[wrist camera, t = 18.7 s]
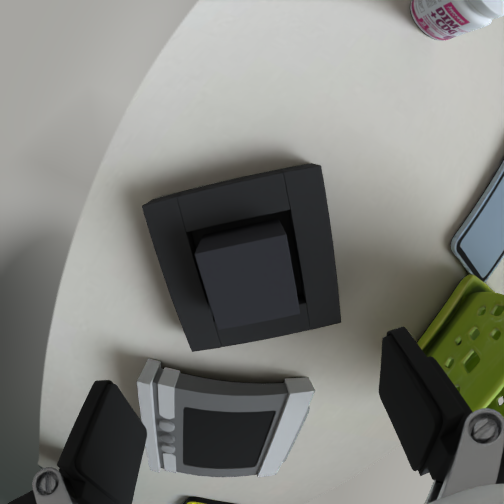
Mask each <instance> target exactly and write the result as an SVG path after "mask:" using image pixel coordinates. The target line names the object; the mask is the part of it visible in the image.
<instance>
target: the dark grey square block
mask: <svg viewBox="0 0 504 504" xmlns="http://www.w3.org/2000/svg"><path fill="white" fill-rule="evenodd" d="M195 258H196V261H197V265H198V268H199V271H200V275H201V278H202V281H203V285H204V288H205V291H206V294H207V297H208V301H209V304H210V307H211V310H212V313H213V316H214V319H215V322H216V326H217V329H218V330H221V329H226V328H232V327H237V326H243V325H248V324H253V323H258V322H263V321H268V320H273V319H278V318H283V317H288V316H292V315H297V314H300V309H299V303H298V297H297V291H296V285H295V280H294V274H293V268H292V263H291V257H290V252H289V246H288V241H287V235H286V233H285V231H284V229H283V227H282V225H281V222H280V220H279V219H273V220H268V221H263V222H259V223H254V224H249V225H245V226H240V227H236V228H231V229H226V230H222V231H217V232H213V233H209V234H204V235H203V236H202V238H201V240H200V242H199V245H198V247H197V249H196V252H195Z"/></svg>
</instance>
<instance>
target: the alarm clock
mask: <svg viewBox="0 0 504 504" xmlns="http://www.w3.org/2000/svg"><path fill="white" fill-rule="evenodd" d="M137 388H138V396H139V405H140V412H141V420H142V423H143V425H144V426H145V427H146V430H147V439H146V443H145V445H146V451H147V456H148V462H149V467H150V470H152V471H155V472H160V469H161V468H164V469H165V471H169V472H174V473H176V472H181V473H186V474H192V475H198V476H210V477H237V476H248V475H257V477H263V476H270V475H276V474H277V472H278V470H279V468H280V466H281V464H282V462H285V460H286V459H287V457H288V455H289V453H290V451H291V449H292V447H293V445H294V442H295V440H296V438H297V436H298V434H299V432H300V430H301V428H302V426H303V423H304V421H305V419H306V417H307V415H308V412H309V404H310V402H311V400H312V397H313V395H314V392H315V389H314V387H313V385H312V383H311V382H310V380H309V378H308V377H307V378H287V379H285V381H284V383H273V384H254V383H236V382H227V381H220V380H213V379H206V378H201V377H196V376H192V375H187V374H182V373H180V371H179V370H175V369H171V368H167V367H165V368H164V369H161V361H157V360H153V359H148V361H147V363H146V365H145V367H144V368H143V370H142V372H141V374H140V376H139V378H138V380H137Z"/></svg>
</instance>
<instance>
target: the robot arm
mask: <svg viewBox="0 0 504 504" xmlns="http://www.w3.org/2000/svg"><path fill="white" fill-rule="evenodd" d="M379 395H380V398H381V400H382V403H383V405H384V407H385V409H386V411H387V413H388V415H389V418H390V420H391V422H392V424H393V426H394V429H395V431H396V433H397V435H398V438H399V440H400V442H401V444H402V447H403V449H404V451H405V454H406V456H407V458H408V461H409V463H410V465H411V467H412V469H413V470H414V471H416V470H418V471H419V474H420V476H422V475H424V474H426V473H430V475H431V477H432V479H433V480H434V482H433V485H432V487H431V490H430V492H429V494H428V497H427V499H426V502H425V504H504V417H503V416H502V415H501V414H500V413H499V412H497V411H496V410H494V409H490V408H482V409H479V410H476V411H474V412H472V410H471V409H470V407H469V406H468V404H467V403H466V401H465V400H464V398H463V397H462V396H461V394H460V393H459V391H458V390H457V388H456V387H455V385H454V384H453V383H452V381H451V380H450V378H449V377H448V376H447V374H446V373H445V372H444V370H443V369H442V367H441V366H440V365H439V363H438V362H437V361H436V360H435V359H434V357H431V356H429V357H427V356H426V355H425V353H424V352H423V351H422V349H421V348H420V347H419V345H418V344H417V343H416V341H415V340H414V339H413V337H412V336H411V335H410V333H409V332H408V331H407V329H406V328H405V327H400V328H397V329H394V330H391V331H388V332H387V336H386V337H383V340H382V357H381V371H380V383H379ZM146 439H147V430H146V427H145V426H144V425H143V423H142V422H141V420H140V419H139V418H138V416H137V415H136V413H135V412H134V411H133V409H132V408H131V406H130V405H129V403H128V402H127V400H126V399H125V397H124V396H123V394H122V393H121V391H120V390H119V388H118V386H117V385H116V384H113V382H112V381H110V380H101V381H95V382H94V384H93V386H92V388H91V390H90V392H89V394H88V396H87V398H86V400H85V402H84V404H83V406H82V409H81V411H80V413H79V415H78V417H77V419H76V422H75V424H74V426H73V428H72V431H71V433H70V435H69V437H68V440H67V442H66V444H65V447H64V449H63V451H62V454H61V456H60V459H59V461H58V464H57V466H58V467H59V468H60V469H59V471H58V470H57V469H55V468H52V467H47V468H44V469H42V470H40V471H39V472H38V473H37V474H36V475H35V477H34V479H33V483H32V486H33V490H32V491H30V492H29V493H27V494H25V495H23V496H21V497H19V498H17V499H15V500H13V501H11V502H9V503H8V504H132V500H133V496H134V491H135V486H136V482H137V477H138V473H139V468H140V464H141V460H142V455H143V451H144V447H145V443H146Z"/></svg>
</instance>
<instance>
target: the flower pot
mask: <svg viewBox="0 0 504 504" xmlns="http://www.w3.org/2000/svg"><path fill="white" fill-rule="evenodd" d="M417 344H418V345H419V347H420V348H421V349H422V351H423V352H424V353H425V355H426V356H427V357H429V356H431V357H434V359H435V360H436V361H437V362H438V363H439V365H440V366H441V367H442V369H443V370H444V372H445V373H446V374H447V376H448V377H449V378H450V380H451V381H452V383H453V384H454V385H455V387H456V388H457V390H458V391H459V393H460V394H461V396H462V397H463V398H464V400H465V401H466V403H467V404H468V406H469V407H470V409H471V410H472V412H474V411H476V410H479V409H482V408H490V409H494V410H496V411H497V412H499V413H500V414H501V415H502V416H503V417H504V402H503V404H502V405H500V406H499V403H498V399H499V398H500V397H502V396H503V399H504V295H502V294H498V293H495V292H494V291H493V290H491V289H490V288H489V287H488V286H487V285H486V284H485V283H484V282H483V281H482V280H480V279H479V278H478V277H476V276H475V275H473V274H470V275H467V276H466V277H464V278H463V279H462V280H461V282H460V283H459V284H458V286H457V287H456V289H455V290H454V292H453V293H452V295H451V296H450V298H449V299H448V301H447V302H446V303H445V305H444V306H443V308H442V309H441V311H440V312H439V313H438V315H437V316H436V318H435V319H434V320H433V322H432V323H431V324H430V326H429V327H428V329H427V330H426V331H425V333H424V334H423V335H422V337H421V338H420V339H419V341H418V342H417Z"/></svg>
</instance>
